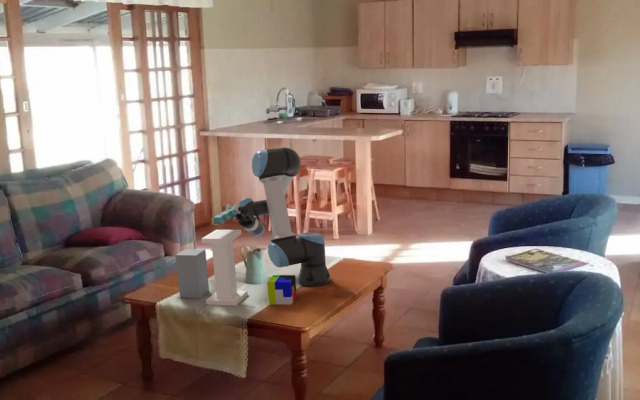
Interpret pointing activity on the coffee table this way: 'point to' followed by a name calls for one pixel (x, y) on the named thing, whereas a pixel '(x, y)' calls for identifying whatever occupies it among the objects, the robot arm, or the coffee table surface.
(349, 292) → the coffee table surface
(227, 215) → the teal bar
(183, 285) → the slate block
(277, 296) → the puzzle toy
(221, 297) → the off-white stand
